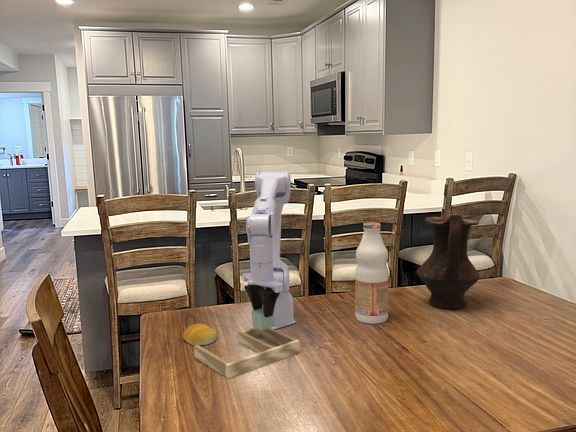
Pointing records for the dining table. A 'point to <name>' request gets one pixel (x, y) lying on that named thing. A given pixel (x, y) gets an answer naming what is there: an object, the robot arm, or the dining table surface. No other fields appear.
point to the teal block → (262, 320)
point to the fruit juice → (371, 277)
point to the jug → (449, 262)
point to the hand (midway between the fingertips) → (263, 314)
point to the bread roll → (199, 335)
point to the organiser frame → (252, 342)
